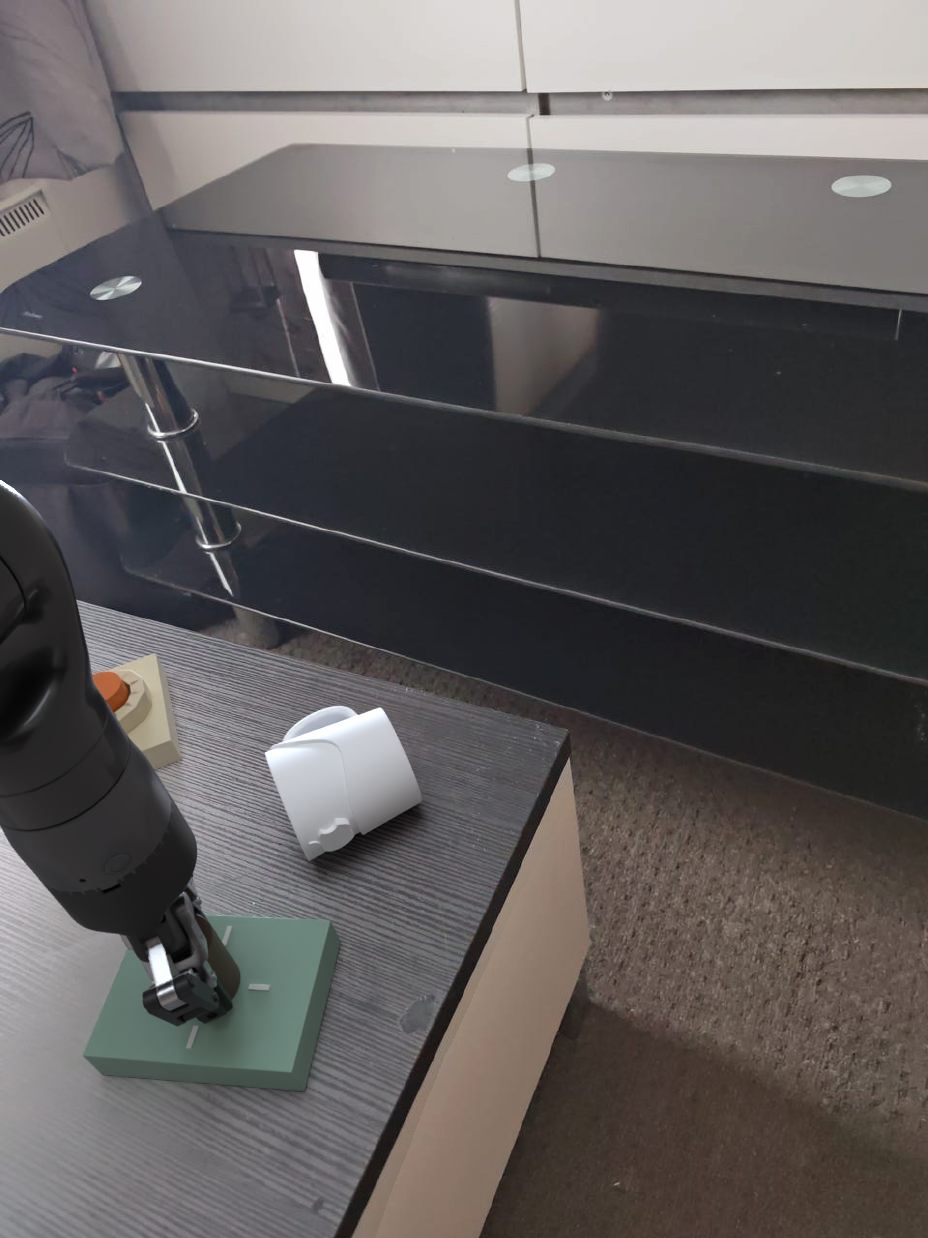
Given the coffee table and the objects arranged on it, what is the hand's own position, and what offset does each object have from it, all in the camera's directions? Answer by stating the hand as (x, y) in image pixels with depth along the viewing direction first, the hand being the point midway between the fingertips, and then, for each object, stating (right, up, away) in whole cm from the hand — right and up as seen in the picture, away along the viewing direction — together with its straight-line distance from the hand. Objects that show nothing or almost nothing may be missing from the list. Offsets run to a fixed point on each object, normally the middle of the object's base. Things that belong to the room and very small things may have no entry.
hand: (210, 979), depth 59 cm
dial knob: (0, -1, 0) cm, 1 cm away
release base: (-14, +13, +23) cm, 30 cm away
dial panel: (0, -3, +2) cm, 4 cm away
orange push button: (-15, +16, +21) cm, 30 cm away
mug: (+7, +9, +14) cm, 18 cm away
